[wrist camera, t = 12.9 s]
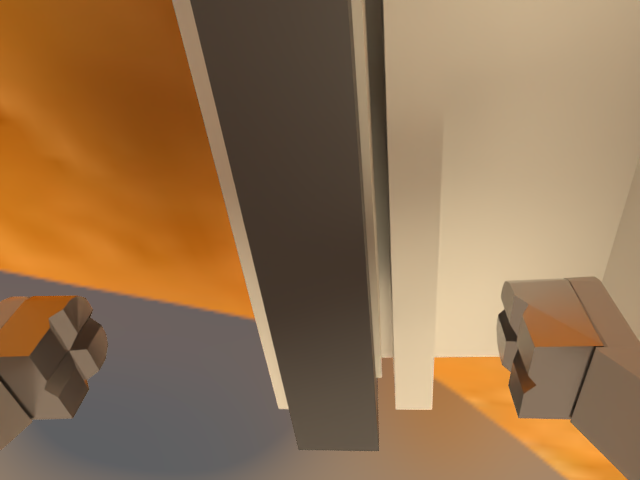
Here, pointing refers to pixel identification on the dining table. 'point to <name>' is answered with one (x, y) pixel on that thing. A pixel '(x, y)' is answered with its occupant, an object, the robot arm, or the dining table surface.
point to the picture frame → (306, 198)
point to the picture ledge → (481, 166)
